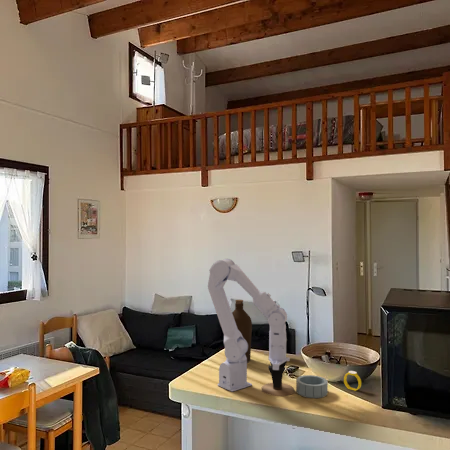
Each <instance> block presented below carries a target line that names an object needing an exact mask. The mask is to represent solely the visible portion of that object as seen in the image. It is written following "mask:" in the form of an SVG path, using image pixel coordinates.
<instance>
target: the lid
mask: <svg viewBox="0 0 450 450" xmlns="http://www.w3.org/2000/svg"><path fill="white" fill-rule="evenodd" d="M260 389H261V392H263V393H264V394H266V395H269V396H273V397H275V396H276V397H286V396H290V395H292V394H293V393H294V392H295V389H294V387H293V386H292V385H290V384H288V383H284V382H283V380H282V381H281V386H280V388H275V387H274V386H273V382H268V383H265V384H263V385H261V388H260Z"/></svg>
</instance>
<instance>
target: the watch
mask: <svg viewBox="0 0 450 450" xmlns="http://www.w3.org/2000/svg"><path fill="white" fill-rule="evenodd" d="M348 376H352V377H353V376H354V377H355V378H356V379H357V382H358V386H357V387H356V388H355V387H351V386H350V384H349V383H348V381H347V379H348ZM343 384H344V385H345V387H346V388H347V389H348V390H352V391H354V392H356V391H358V390H359V389H361V387H362V379H361V377H360V376H359V374H358V372H357V371H354V370H349V371H348V372H347V373H345V375H344V377H343Z"/></svg>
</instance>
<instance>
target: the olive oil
mask: <svg viewBox="0 0 450 450" xmlns="http://www.w3.org/2000/svg"><path fill="white" fill-rule="evenodd" d="M234 308H235V309H234V310H233V311H232V314H233V317H234V320H235V323H236V326H237V329H238V330H239V331H240V332H241V334H242V336H243V338H244V339H245V340H246V341H247V343H248V350H247V352H246V353H245V355H246V357H247V363H249V362H250V361H251V357H252V356H251V353H252V351H251V350H252V349H251V348H252V332H253V331H252V330H253V321H252V317H250V315H249V314H248V313H247V312H246V311H245V310H244V300H243V299H235V303H234Z"/></svg>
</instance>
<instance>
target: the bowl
mask: <svg viewBox="0 0 450 450" xmlns="http://www.w3.org/2000/svg"><path fill="white" fill-rule="evenodd" d="M295 382H296V383H295V384H296V385H295V386H296V387H295V391H296V393H297V394H298V395H300V396H301V397H304V398H308V399H309V398H310V399H322V398H325V397H327V395H328V391H329V389H328V384H329V383H328V380H327V379H326V378H325V377H322V376H319V375H312V374H311V375H310V374H309V375H305V374H304V375H300V376H297V378H296V380H295Z"/></svg>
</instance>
